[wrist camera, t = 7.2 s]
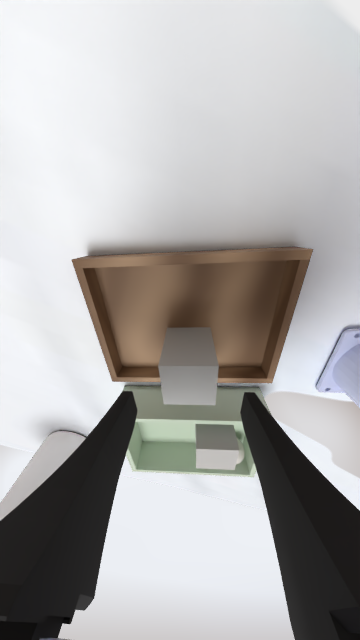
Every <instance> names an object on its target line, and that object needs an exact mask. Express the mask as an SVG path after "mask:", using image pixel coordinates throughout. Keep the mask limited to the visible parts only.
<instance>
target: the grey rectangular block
mask: <svg viewBox="0 0 360 640" xmlns="http://www.w3.org/2000/svg"><path fill="white" fill-rule="evenodd" d="M195 444H196V468H201V469H222V470H235V466H236V462H237V458H238V454H239V447H238V442H237V438H236V433H235V429H234V425H221V424H195Z"/></svg>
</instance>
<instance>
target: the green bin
mask: <svg viewBox="0 0 360 640" xmlns="http://www.w3.org/2000/svg"><path fill="white" fill-rule="evenodd" d="M123 391H133V395H134V399H135V403H136V406H137V410H138V411H137V416H136V421H135V426H134V430H133V433H132V436H131V440H130V443H129V446H128V449H127V452H126V456H127V458H128V461H129V463H130V466H131V468H132V471H136V472H156V473H177V474H198V475H219V476H240V477H254V475H255V473H256V467H255V464H254V460H253V457H252V454H251V451H250V448H249V445H248V442H247V438H246V435H245V432H244V428H243V424H242V419H241V414H240V411H241V406H242V401H243V396H244V392H255V393H256V395H257V396H258V398H259V399H260V400H261V402H262V403H263V405H264V406H265V407H266V409H267V410H268V411H269V409H268V407H267V404H266V402H265V400H264V398H263V395H262V393H261V391H260V389H259V387H217V393H216V404H215V405H170V404H164V403H163V396H162V389H161V386H125V387H124V389H123ZM269 413H270V411H269ZM270 414H271V413H270ZM195 424H221V425H234V429H235V433H236V437H237V438H238V439H239V440H240V441H241V442H242V444H243V446H244V450H245V456H244V459H243V460H242V462H241V463H239V464H236V466H235V470H222V469H201V468H196V444H195Z"/></svg>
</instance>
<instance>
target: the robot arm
mask: <svg viewBox="0 0 360 640" xmlns="http://www.w3.org/2000/svg"><path fill="white" fill-rule="evenodd" d="M316 389H317V390H318V391H319V392H345V393H346V394H347V395H348V396H349V397H350V398H351V399H352V401H353V402H354V403H355V404H356V405H357V406H358V407H359V408H360V329H347V330H345V331H344V332H343V333H342V335H341V337H340V339H339V341H338V343H337V345H336V347H335V349H334V351H333V353H332V356H331V358H330V360H329V362H328V364H327V366H326V368H325V370H324V372H323V374H322V376H321V378H320V380H319V382H318V384H317V386H316ZM137 411H138V410H137V406H136V403H135V399H134V395H133V391H123V392H122V393H121V394H120V396H119V397H118V399H117V400H116V401H115V403H114V404H113V405H112V407H111V408H110V409H109V411H108V412H107V413H106V414H105V416H104V417H103V418H102V420H101V421H100V422H99V423H98V425H97V426H96V427H95V428H94V429H93V431H92V432H91V433H90V434H89V435H88V436H87V438H86V439H85V440H84V441H83V442H82V443H81V444H80V446H79V447H78V448H77V449H76V450H75V451H74V452H73V453H72V454H71V455H70V456H69V457H68V458H67V460H66V461H65V462H64V463H63V464H62V465H61V466H60V467H59V468H58V469H57V470H56V471H55V472H54V473H53V474H52V475H51V476H50V477H48V478H47V479H46V480H45V481H44V482H43V483H42V484H41V485H40V486H39V487H38V488H37V489H36V490H35V491H33V492H32V493H31V494H30V495H29V496H28V497H27V498H26V499H25V500H23V501H22V502H21V503H20V504H19V505H18V506H17V507H16V508H15V509H13V510H12V511H11V512H10V513H9V514H8V515H6V516H5V517H4V518H3V519H2V520H0V640H67V639H59V638H58V635H59V632H60V629H61V626H62V623H64V624H71V622H72V618H73V615H74V612H75V610H85V609H86V608H87V607H88V606H89V605H90V603H91V602H92V600H93V599H94V596H95V590H96V584H97V579H98V574H99V568H100V563H101V557H102V552H103V547H104V542H105V537H106V533H107V528H108V523H109V518H110V514H111V509H112V504H113V500H114V496H115V491H116V487H117V483H118V479H119V475H120V472H121V468H122V465H123V462H124V459H125V456H126V452H127V449H128V446H129V443H130V440H131V436H132V433H133V430H134V426H135V421H136V416H137ZM240 414H241V419H242V424H243V428H244V432H245V435H246V438H247V442H248V445H249V448H250V451H251V454H252V457H253V460H254V464H255V467H256V470H257V473H258V476H259V480H260V483H261V487H262V491H263V495H264V499H265V503H266V508H267V512H268V516H269V520H270V525H271V529H272V533H273V538H274V543H275V548H276V552H277V557H278V562H279V566H280V571H281V576H282V581H283V586H284V591H285V596H286V601H287V606H288V611H289V617H290V622H291V626H292V630H293V634H294V637H295V640H360V511H359V510H358V509H357V508H356V507H355V506H354V505H353V504H352V503H351V502H350V501H349V500H348V499H347V498H346V497H345V496H344V495H343V494H342V493H340V492H339V491H338V490H337V489H336V488H335V487H334V486H333V485H332V484H331V483H330V482H329V481H328V480H327V479H326V478H325V477H324V476H323V474H322V473H321V472H320V471H319V470H318V469H317V468H316V467H315V466H314V465H313V464H312V463H311V462H310V461H309V460H308V459H307V457H306V456H305V455H304V454H303V453H302V452H301V451H300V450H299V448H298V447H297V446H296V445H295V444H294V443H293V441H292V440H291V439H290V438H289V437H288V436H287V434H286V433H285V432H284V431H283V429H282V428H281V427H280V426H279V424H278V423H277V422H276V421H275V419H274V418H273V417H272V415H271V414H270V413H269V411H268V410H267V409H266V407H265V406H264V405H263V403H262V402H261V400H260V399H259V398H258V396H257V395H256V393H255V392H244V396H243V401H242V406H241V411H240Z"/></svg>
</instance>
